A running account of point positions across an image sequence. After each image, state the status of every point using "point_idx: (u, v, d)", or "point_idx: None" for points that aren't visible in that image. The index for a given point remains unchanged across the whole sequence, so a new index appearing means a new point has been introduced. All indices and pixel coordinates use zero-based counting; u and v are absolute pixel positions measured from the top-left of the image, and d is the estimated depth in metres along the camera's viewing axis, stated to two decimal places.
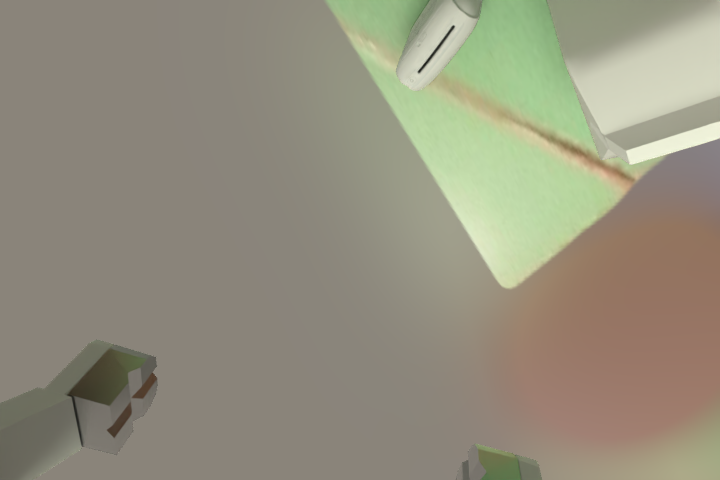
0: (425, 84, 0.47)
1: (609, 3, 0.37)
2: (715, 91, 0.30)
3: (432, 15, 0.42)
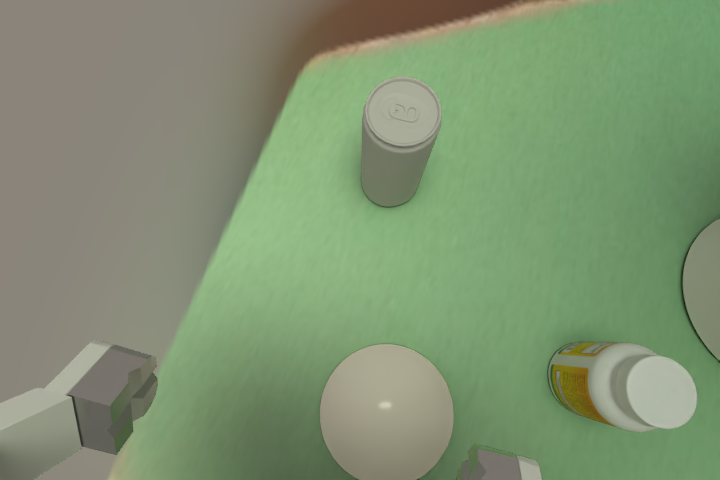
0: None
1: None
2: None
3: None
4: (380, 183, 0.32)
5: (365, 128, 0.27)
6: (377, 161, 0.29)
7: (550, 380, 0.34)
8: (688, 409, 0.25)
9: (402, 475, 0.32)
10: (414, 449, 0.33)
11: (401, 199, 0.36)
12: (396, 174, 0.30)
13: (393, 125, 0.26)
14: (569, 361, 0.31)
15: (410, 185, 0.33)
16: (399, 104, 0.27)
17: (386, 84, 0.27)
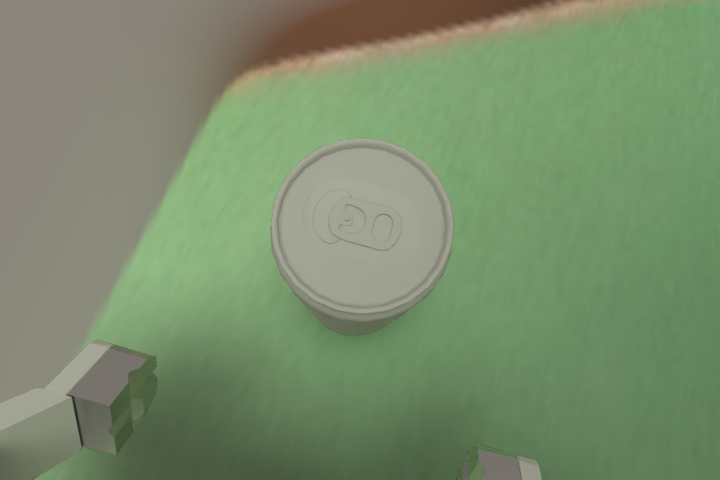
0: None
1: None
2: None
3: None
4: (329, 324, 0.17)
5: (275, 257, 0.12)
6: (311, 309, 0.14)
7: None
8: None
9: None
10: None
11: (373, 330, 0.20)
12: (355, 327, 0.14)
13: (338, 259, 0.11)
14: None
15: (387, 323, 0.18)
16: (353, 206, 0.11)
17: (326, 155, 0.12)
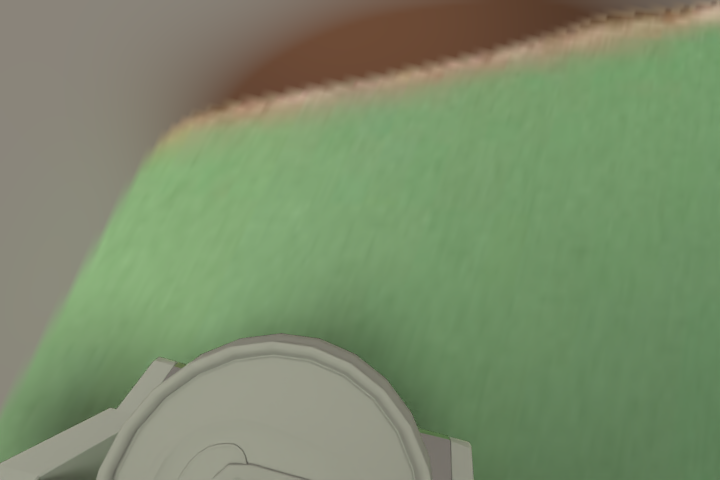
0: None
1: None
2: None
3: None
4: None
5: None
6: None
7: None
8: None
9: None
10: None
11: None
12: None
13: None
14: None
15: None
16: None
17: (204, 372, 0.06)
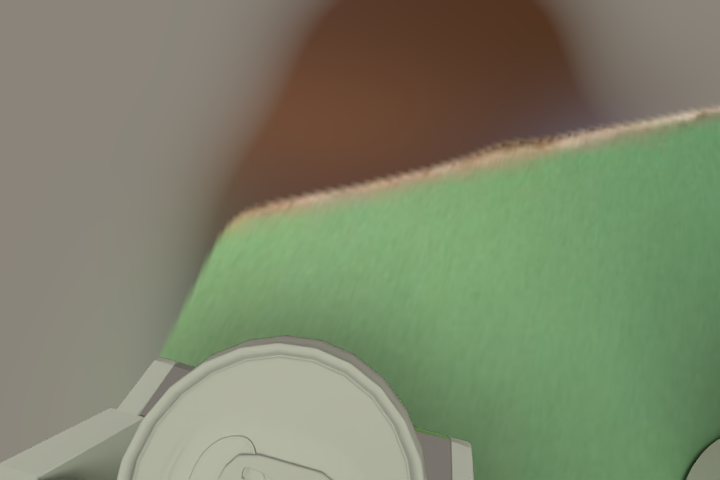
0: None
1: None
2: None
3: None
4: None
5: None
6: None
7: None
8: None
9: None
10: None
11: None
12: None
13: None
14: None
15: None
16: (256, 470, 0.07)
17: (217, 371, 0.07)
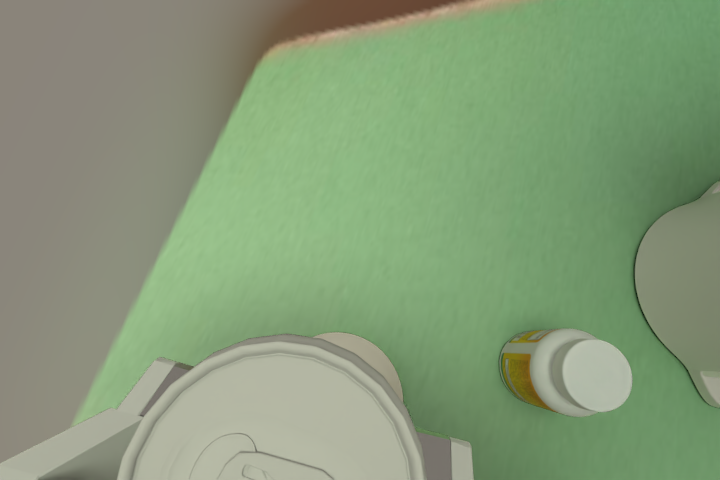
0: None
1: None
2: None
3: None
4: None
5: None
6: None
7: (500, 369, 0.34)
8: (623, 392, 0.25)
9: None
10: None
11: None
12: None
13: None
14: (517, 349, 0.31)
15: None
16: (256, 468, 0.07)
17: (217, 368, 0.07)
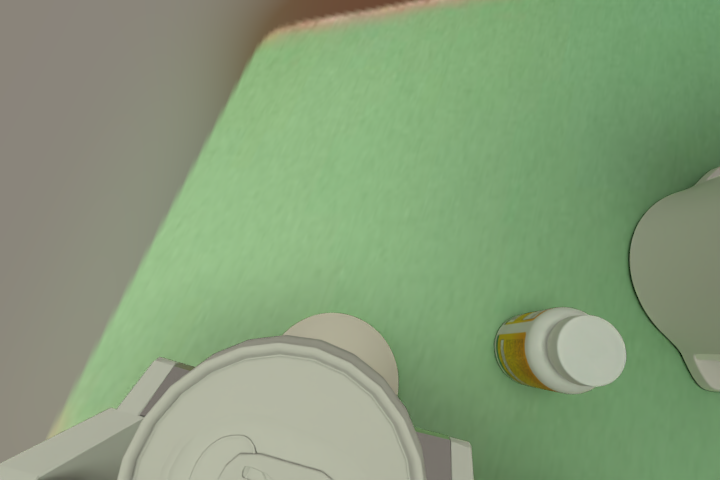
0: None
1: None
2: None
3: None
4: None
5: None
6: None
7: (496, 350, 0.34)
8: (617, 367, 0.25)
9: None
10: None
11: None
12: None
13: None
14: (512, 329, 0.32)
15: None
16: (256, 469, 0.07)
17: (217, 370, 0.07)
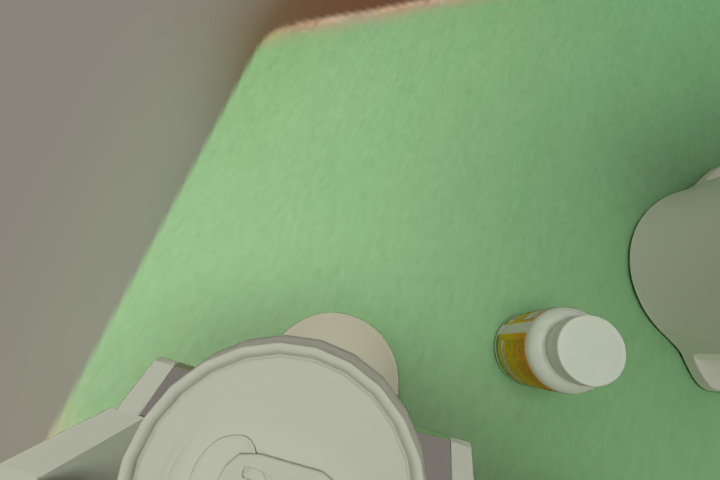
0: None
1: None
2: None
3: None
4: None
5: None
6: None
7: (496, 350, 0.34)
8: (617, 367, 0.25)
9: None
10: None
11: None
12: None
13: None
14: (512, 329, 0.32)
15: None
16: (256, 469, 0.07)
17: (217, 370, 0.07)
